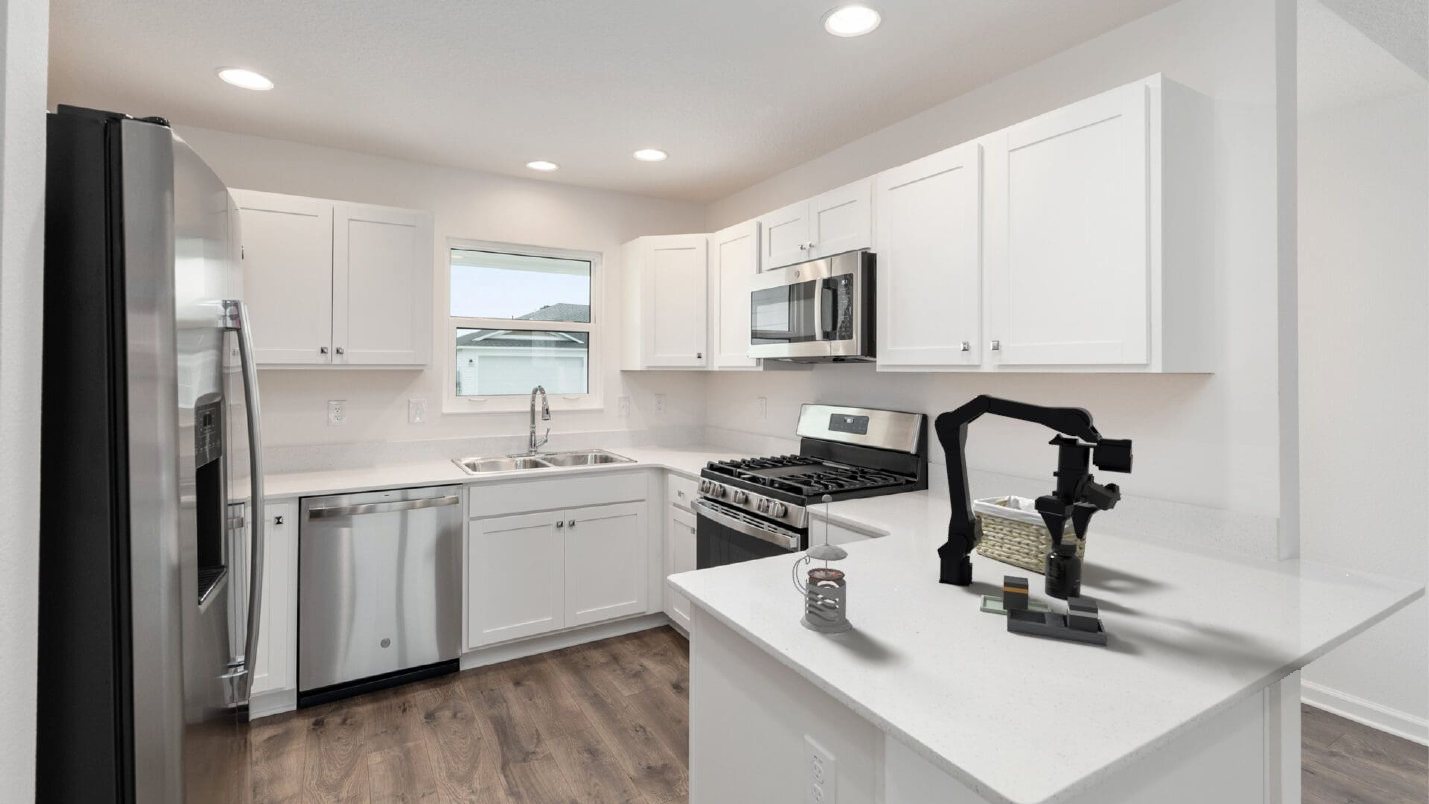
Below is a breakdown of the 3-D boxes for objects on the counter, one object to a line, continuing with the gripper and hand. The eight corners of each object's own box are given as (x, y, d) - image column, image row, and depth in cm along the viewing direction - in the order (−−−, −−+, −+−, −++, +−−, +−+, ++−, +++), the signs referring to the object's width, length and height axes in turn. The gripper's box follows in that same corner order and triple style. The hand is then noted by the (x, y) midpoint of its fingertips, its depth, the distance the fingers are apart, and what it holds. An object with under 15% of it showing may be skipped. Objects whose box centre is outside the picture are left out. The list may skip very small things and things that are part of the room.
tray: (979, 613, 132) (980, 607, 132) (981, 600, 139) (981, 594, 139) (1052, 623, 127) (1052, 617, 127) (1049, 609, 134) (1049, 604, 134)
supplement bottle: (1085, 603, 138) (1087, 547, 137) (1050, 600, 139) (1051, 545, 139) (1074, 592, 145) (1075, 539, 144) (1040, 590, 146) (1042, 537, 145)
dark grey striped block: (1002, 611, 132) (1003, 581, 132) (1002, 603, 136) (1003, 575, 136) (1027, 614, 130) (1028, 584, 130) (1027, 607, 134) (1028, 578, 134)
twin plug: (1068, 636, 119) (1069, 604, 119) (1066, 627, 123) (1067, 596, 123) (1097, 641, 117) (1098, 608, 117) (1094, 631, 122) (1095, 600, 121)
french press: (840, 637, 120) (842, 501, 118) (782, 623, 126) (784, 495, 125) (858, 619, 128) (860, 493, 127) (803, 608, 134) (805, 487, 133)
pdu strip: (1007, 633, 122) (1007, 620, 122) (1006, 618, 129) (1007, 606, 129) (1106, 648, 115) (1106, 635, 115) (1100, 632, 123) (1100, 619, 122)
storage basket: (968, 552, 176) (969, 498, 176) (1010, 546, 183) (1012, 493, 182) (1046, 578, 155) (1048, 516, 154) (1091, 570, 162) (1093, 510, 161)
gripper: (1092, 478, 124) (1087, 559, 125) (1135, 470, 135) (1130, 544, 136) (1035, 469, 133) (1030, 544, 134) (1079, 462, 144) (1075, 532, 145)
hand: (1068, 541), depth 137 cm, fingers open, 9 cm apart
